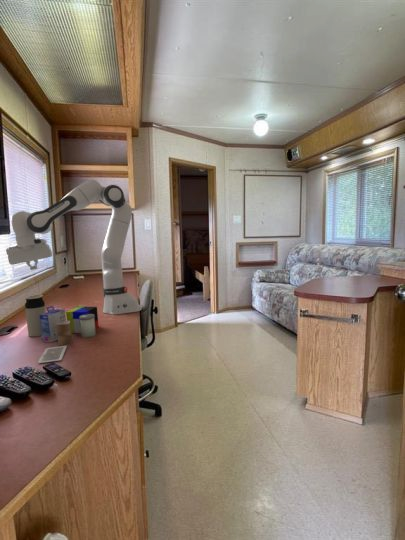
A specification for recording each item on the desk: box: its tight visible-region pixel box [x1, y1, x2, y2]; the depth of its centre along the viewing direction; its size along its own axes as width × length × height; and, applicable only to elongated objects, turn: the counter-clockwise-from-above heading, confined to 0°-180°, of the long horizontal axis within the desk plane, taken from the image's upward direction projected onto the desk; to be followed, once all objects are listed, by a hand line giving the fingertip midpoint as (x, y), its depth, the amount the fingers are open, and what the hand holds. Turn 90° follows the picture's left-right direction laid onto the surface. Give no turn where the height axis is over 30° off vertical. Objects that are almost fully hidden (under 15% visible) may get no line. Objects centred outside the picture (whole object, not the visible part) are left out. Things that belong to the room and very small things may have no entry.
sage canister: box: [79, 314, 96, 338], centre depth 140 cm, size 6×6×9 cm
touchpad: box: [37, 345, 68, 364], centre depth 119 cm, size 8×15×2 cm, turn 16°
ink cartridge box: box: [39, 305, 67, 343], centre depth 137 cm, size 10×6×14 cm, turn 161°
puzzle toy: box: [65, 306, 99, 334], centre depth 149 cm, size 10×10×10 cm
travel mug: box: [24, 294, 46, 337], centre depth 144 cm, size 8×8×18 cm
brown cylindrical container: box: [56, 320, 73, 347], centre depth 131 cm, size 5×5×9 cm
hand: (34, 269), depth 160 cm, fingers closed
